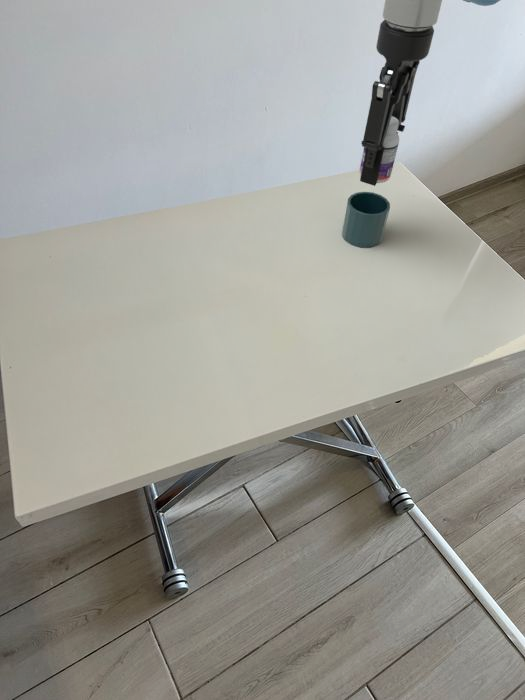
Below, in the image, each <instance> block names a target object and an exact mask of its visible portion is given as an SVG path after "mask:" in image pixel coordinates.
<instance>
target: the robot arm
mask: <svg viewBox="0 0 525 700" xmlns="http://www.w3.org/2000/svg"><path fill="white" fill-rule="evenodd" d="M500 1H501V0H462V2H467V3H472V4H474V5H477V6H480V7H487V6H493V5H496V4H497V3H499V2H500ZM442 3H443V0H384V4H383V5H384V6H383V11H382V18H383V19H384V20H383V21H382V22H380V24H379V31H378V36H377V41H376V51H377V53H378V54H379V55H381V56H383V57H384V59H385V64H384V65H383V66H382V68H381V70H380V74H379V77H378V80H379V81H377V80H375V81H374V82H373V84H372V88H371V99H370V104H369V108H368V114H367V118H366V124H365V130H364V134H363V139H362V141H361V143H360V144H361V147H363V148H364V147H366V153H365V158H364V163H363V168H362V173H361V176H360V179H359V181H360V182H362V183H364V184H367V185H370V186H374V187H375V186H376V185H377V184H378V183H377V179H378V174H379V170H380V166H381V161H382V157H383V152H384V148H385V147H383V143H384V140H385V136H386V133H387V130H388V126H389V123H390V120H391V116H393V117H395V118H397V119H398V120H399V125H398V129H397V132H396V133H397V134H398V135H399V132H401V133H403V132H404V131H405V128H406V125H403V124H402V123H404V122H405V120H406V117H407V112H408V108H409V103H410V100H411V94H412V92H413V91H412V90H413V86H414V82H415V78H416V73H417V70H418V68H419V66H420V62H421V61H422V60H424V59H426V58H427V57H428V55H429V53H430V51H431V50H430V48H431V45H432V41H433V37H434V33H435V29H434V26H435V25H436V24H437V23H438V19H439V14H440V11H441V6H442Z"/></svg>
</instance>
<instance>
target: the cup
mask: <svg viewBox="0 0 525 700" xmlns="http://www.w3.org/2000/svg"><path fill="white" fill-rule="evenodd" d="M346 201H347V202H346V207H345V212H344V217H343V219H344V220H343V224H342V230H341V236H342V238H343V240H344V241H345V242H347V243H348V244H350V245H351V246H354V247H357V248H364V249H365V248H366V249H367V248H373V247H376V246H378V245H379V244H380V243H381V242H382V240H383V238H384V234H385V230H386V227H387V226H386V225H387V222H388V218H389V215H390V210H391V203H390V202H389V200H388V199H387V198H386V197H385V196H383V195H381V194H378V193H375V192H373V191H358V192H354V193H353V194H352V193H351V195H350V196H349V197H348V198H347V200H346Z"/></svg>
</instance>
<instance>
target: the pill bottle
mask: <svg viewBox="0 0 525 700" xmlns="http://www.w3.org/2000/svg"><path fill="white" fill-rule="evenodd" d="M398 125H399V120H398V119H397V118H395V117H393V116H391V120H390V123H389V126H388V130H387V133H386V136H385V140H384V143H383V147H385V148H384V152H383V157H382V161H381V166H380V170H379V174H378V179H377V183H376V184H383V183H386V182H388V181H389V180H390V178H391V175H392V173H393V168H394V164H395V159H396V156H397V152H398V148H399V144H400V136H399V133H398V134H397V133H396V132H398V131H397V129H398ZM365 153H366V147H363V151H362V155H361V160H360V166H359V172H358V174H359V176H360V177H361V173H362V168H363V163H364V158H365Z"/></svg>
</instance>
